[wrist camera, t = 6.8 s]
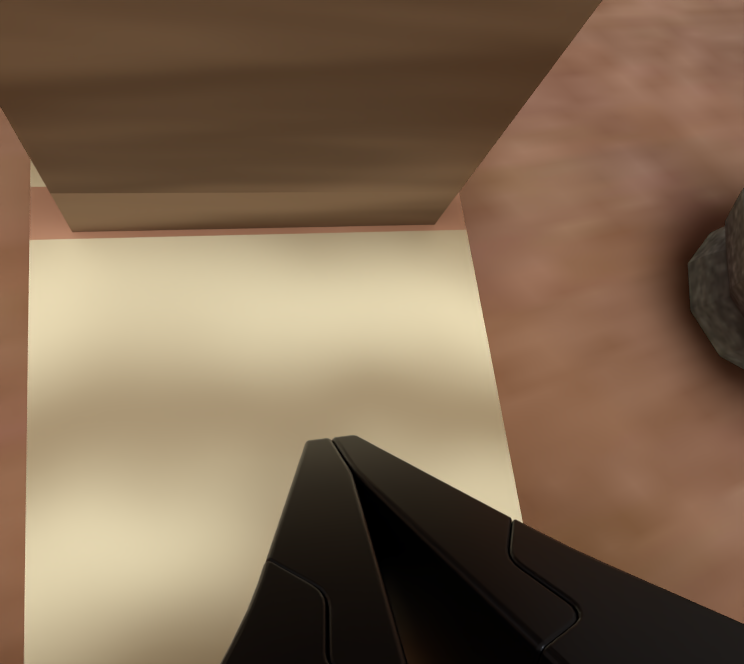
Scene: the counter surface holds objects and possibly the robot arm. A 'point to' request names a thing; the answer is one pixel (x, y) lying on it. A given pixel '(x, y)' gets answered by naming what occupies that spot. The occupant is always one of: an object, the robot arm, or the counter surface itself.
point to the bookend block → (269, 104)
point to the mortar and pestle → (721, 286)
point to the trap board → (227, 410)
